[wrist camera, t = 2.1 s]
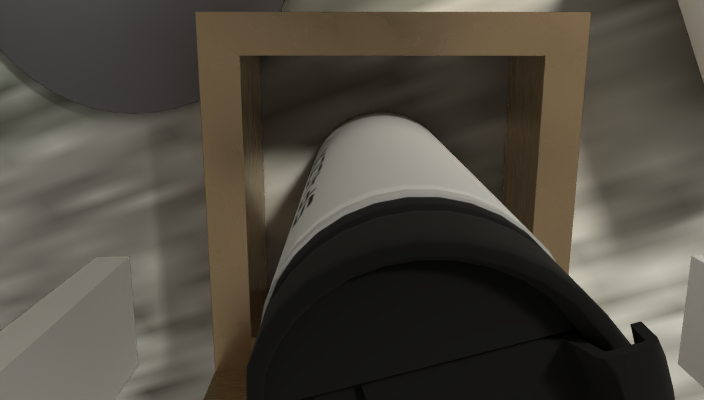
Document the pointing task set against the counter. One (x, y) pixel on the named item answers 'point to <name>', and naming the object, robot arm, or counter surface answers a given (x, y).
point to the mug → (695, 27)
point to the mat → (113, 48)
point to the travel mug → (430, 290)
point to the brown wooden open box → (374, 40)
